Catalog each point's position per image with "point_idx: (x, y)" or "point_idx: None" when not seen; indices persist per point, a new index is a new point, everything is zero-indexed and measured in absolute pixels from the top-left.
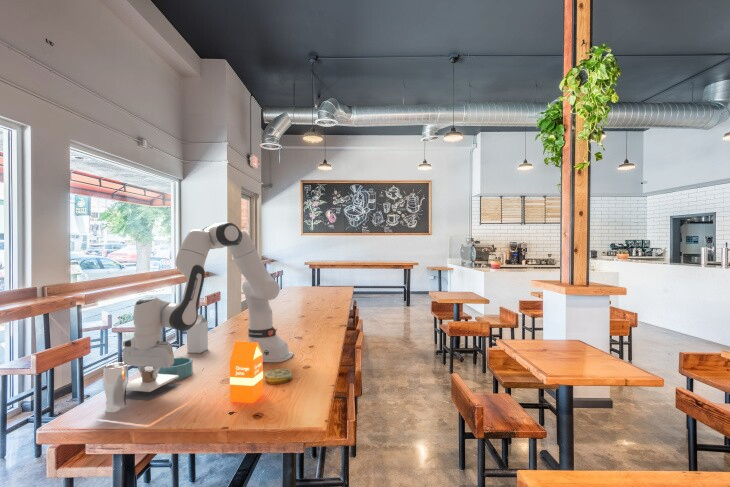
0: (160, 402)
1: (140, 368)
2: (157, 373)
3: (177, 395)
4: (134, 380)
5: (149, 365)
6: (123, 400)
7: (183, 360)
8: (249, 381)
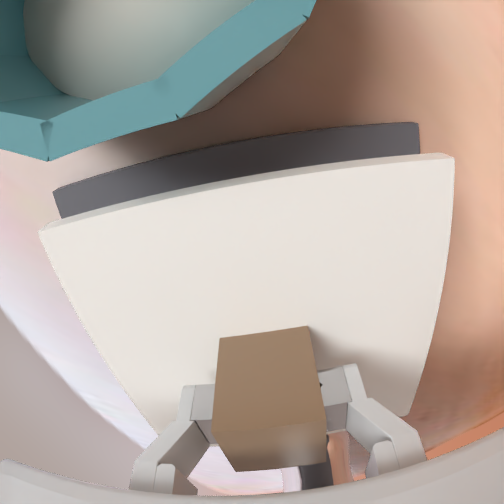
0: (447, 350)
1: (195, 488)
2: (363, 389)
3: (485, 267)
4: (133, 381)
5: None
6: (350, 467)
7: None
8: None
